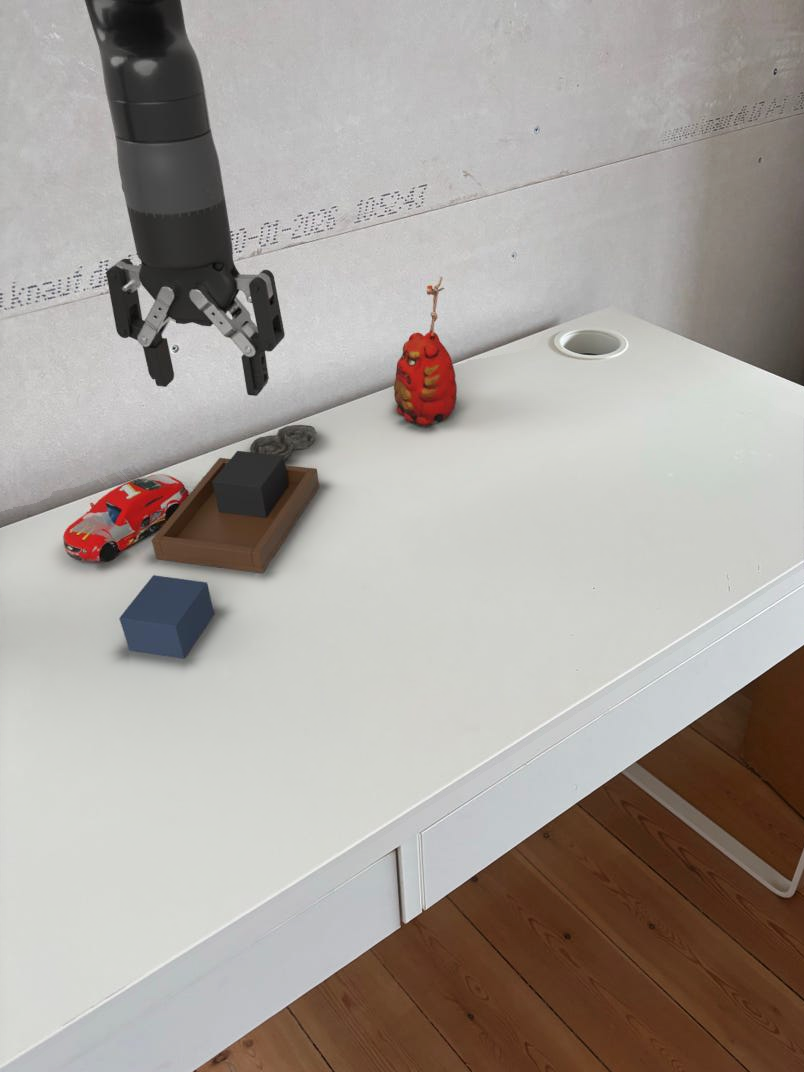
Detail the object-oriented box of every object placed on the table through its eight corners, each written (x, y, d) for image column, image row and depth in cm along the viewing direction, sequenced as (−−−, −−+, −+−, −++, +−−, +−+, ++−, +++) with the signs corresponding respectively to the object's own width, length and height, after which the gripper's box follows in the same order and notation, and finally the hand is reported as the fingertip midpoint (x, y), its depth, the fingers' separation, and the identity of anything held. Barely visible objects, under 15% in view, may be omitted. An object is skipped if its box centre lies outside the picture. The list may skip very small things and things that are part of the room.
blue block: (128, 650, 84) (118, 618, 82) (162, 606, 89) (153, 574, 86) (184, 659, 83) (175, 626, 81) (214, 614, 88) (207, 582, 86)
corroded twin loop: (328, 442, 110) (327, 434, 109) (269, 470, 106) (267, 461, 105) (299, 427, 113) (298, 418, 112) (240, 454, 108) (238, 445, 108)
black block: (218, 512, 99) (212, 481, 97) (243, 480, 103) (237, 450, 101) (266, 518, 98) (260, 487, 96) (288, 485, 103) (284, 455, 100)
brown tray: (156, 559, 94) (151, 539, 93) (223, 475, 105) (219, 457, 104) (262, 573, 92) (259, 553, 91) (319, 487, 103) (317, 468, 102)
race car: (90, 574, 92) (78, 538, 90) (55, 554, 95) (42, 518, 92) (201, 509, 100) (193, 475, 98) (166, 492, 103) (157, 458, 100)
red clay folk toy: (384, 409, 116) (373, 279, 106) (436, 392, 119) (430, 265, 109) (418, 436, 111) (411, 302, 102) (472, 418, 114) (469, 287, 104)
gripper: (278, 186, 80) (301, 376, 91) (114, 175, 83) (155, 362, 93) (242, 215, 75) (271, 415, 85) (66, 203, 77) (115, 398, 88)
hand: (210, 387), depth 89 cm, fingers open, 8 cm apart
